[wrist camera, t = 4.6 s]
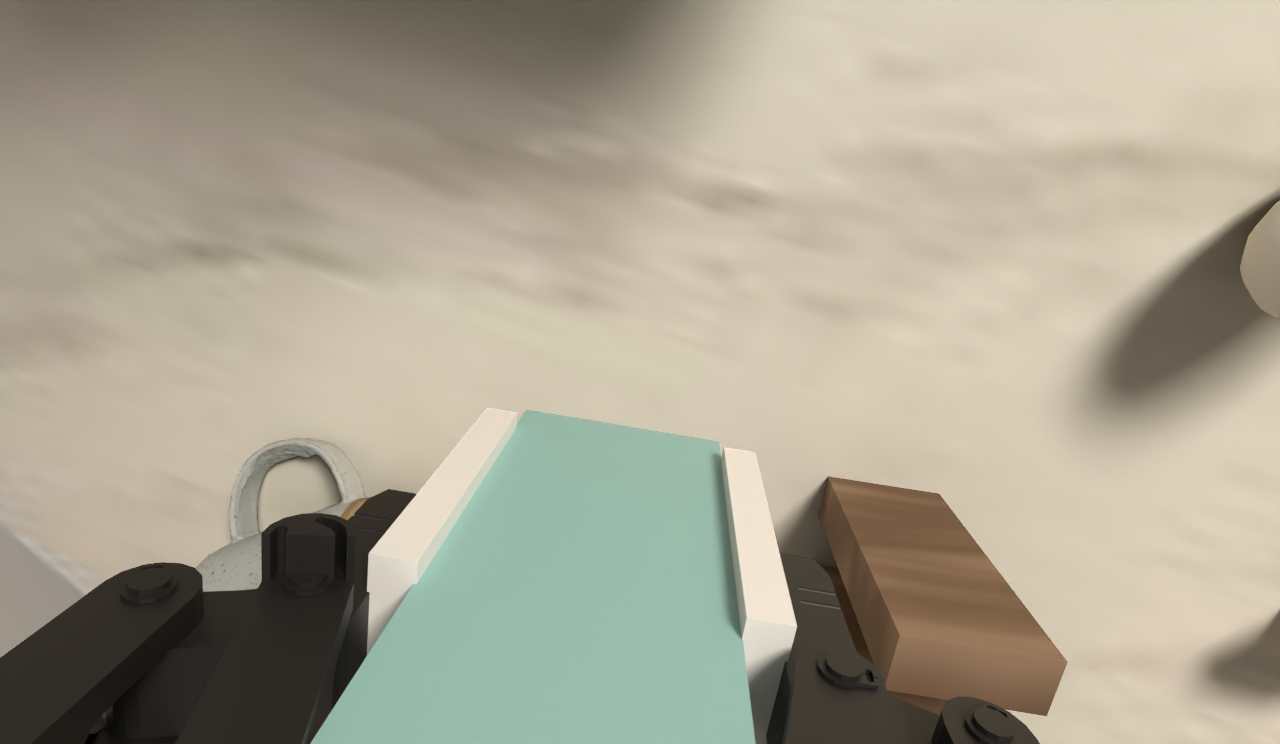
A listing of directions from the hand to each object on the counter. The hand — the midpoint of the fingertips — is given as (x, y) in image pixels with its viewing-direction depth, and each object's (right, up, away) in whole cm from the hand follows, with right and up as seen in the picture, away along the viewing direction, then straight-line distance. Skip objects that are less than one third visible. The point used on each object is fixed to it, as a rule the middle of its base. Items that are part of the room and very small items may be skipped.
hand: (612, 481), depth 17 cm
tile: (0, 0, +1) cm, 1 cm away
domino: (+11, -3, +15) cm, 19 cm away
